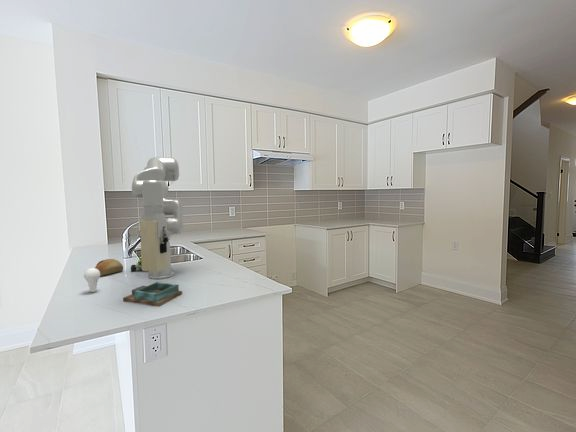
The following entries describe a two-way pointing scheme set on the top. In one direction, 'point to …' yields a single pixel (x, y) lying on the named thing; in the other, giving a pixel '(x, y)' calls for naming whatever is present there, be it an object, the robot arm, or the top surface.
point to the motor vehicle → (134, 267)
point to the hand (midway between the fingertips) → (155, 251)
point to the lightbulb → (92, 278)
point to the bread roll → (109, 266)
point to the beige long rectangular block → (151, 248)
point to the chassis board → (154, 294)
